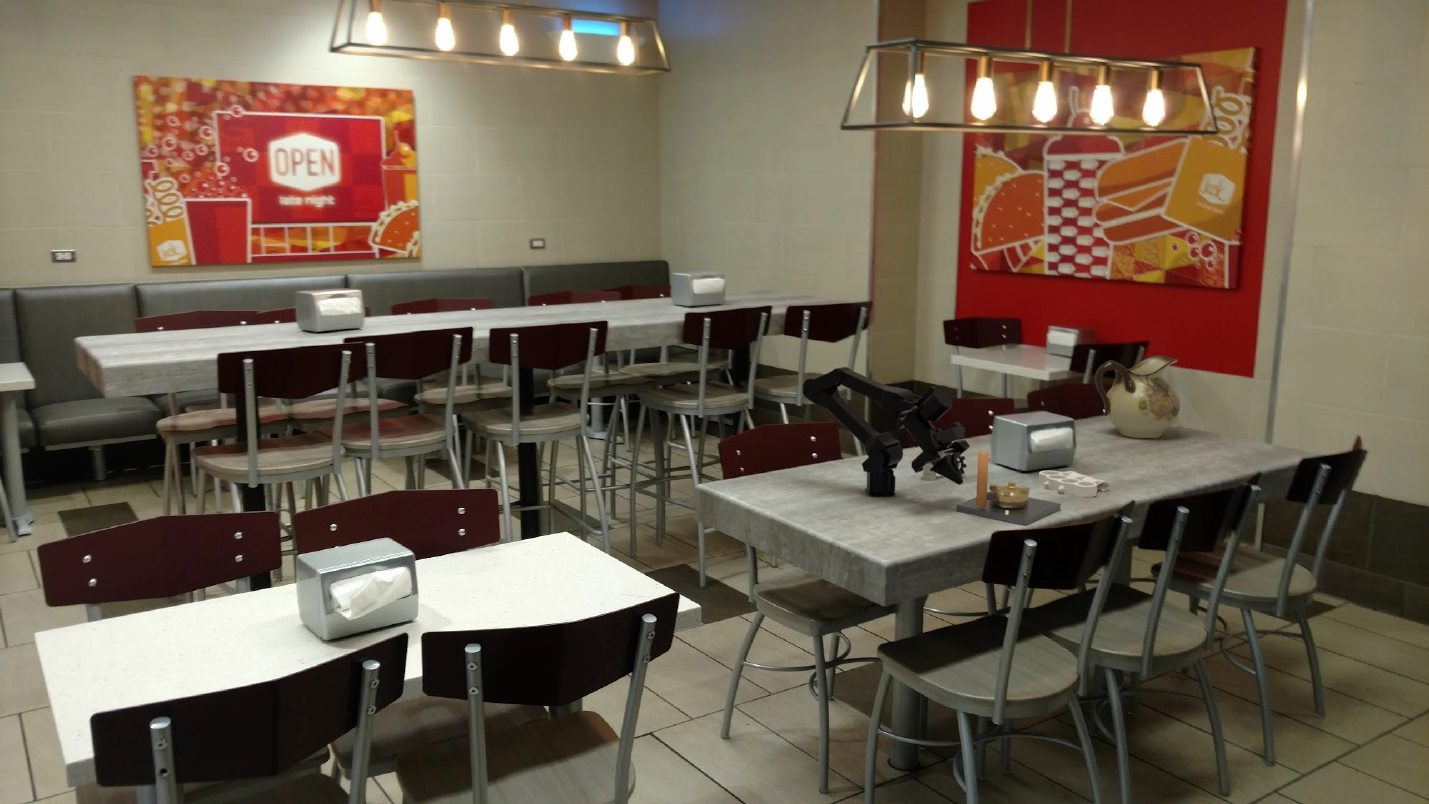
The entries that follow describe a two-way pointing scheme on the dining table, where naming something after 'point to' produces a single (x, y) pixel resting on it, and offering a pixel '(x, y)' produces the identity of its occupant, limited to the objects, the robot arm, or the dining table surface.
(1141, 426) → the pitcher
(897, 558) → the dining table surface
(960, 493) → the dining table surface
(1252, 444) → the dining table surface
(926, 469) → the valve
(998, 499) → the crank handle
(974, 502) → the steel plate
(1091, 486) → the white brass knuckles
